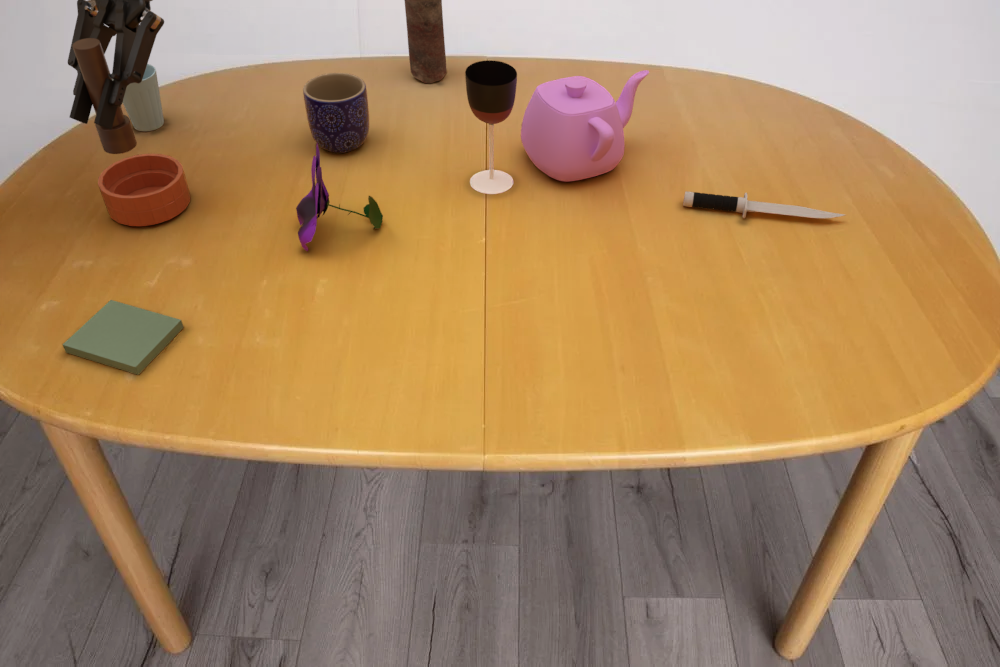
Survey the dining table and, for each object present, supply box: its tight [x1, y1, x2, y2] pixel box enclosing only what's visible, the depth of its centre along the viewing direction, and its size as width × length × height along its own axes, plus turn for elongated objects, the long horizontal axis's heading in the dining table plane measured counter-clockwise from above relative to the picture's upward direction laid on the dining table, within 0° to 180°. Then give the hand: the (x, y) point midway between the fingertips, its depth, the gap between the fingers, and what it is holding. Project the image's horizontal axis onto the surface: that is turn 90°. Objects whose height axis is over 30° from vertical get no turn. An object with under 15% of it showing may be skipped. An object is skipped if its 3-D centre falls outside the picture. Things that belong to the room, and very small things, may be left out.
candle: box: [403, 0, 448, 84], centre depth 172 cm, size 8×7×20 cm
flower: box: [295, 143, 384, 252], centre depth 136 cm, size 15×15×14 cm
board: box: [61, 299, 185, 376], centre depth 120 cm, size 12×10×2 cm
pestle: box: [72, 38, 138, 155], centre depth 125 cm, size 5×5×16 cm
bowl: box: [97, 152, 191, 227], centre depth 142 cm, size 13×13×6 cm
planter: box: [302, 72, 370, 154], centre depth 155 cm, size 11×11×11 cm
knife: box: [682, 190, 846, 219], centre depth 142 cm, size 26×2×5 cm
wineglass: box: [464, 59, 518, 195], centre depth 143 cm, size 8×9×20 cm
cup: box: [112, 63, 165, 132], centre depth 160 cm, size 8×8×10 cm
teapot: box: [520, 69, 650, 182], centre depth 150 cm, size 23×21×15 cm
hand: (90, 123), depth 124 cm, fingers closed on pestle, 4 cm apart
